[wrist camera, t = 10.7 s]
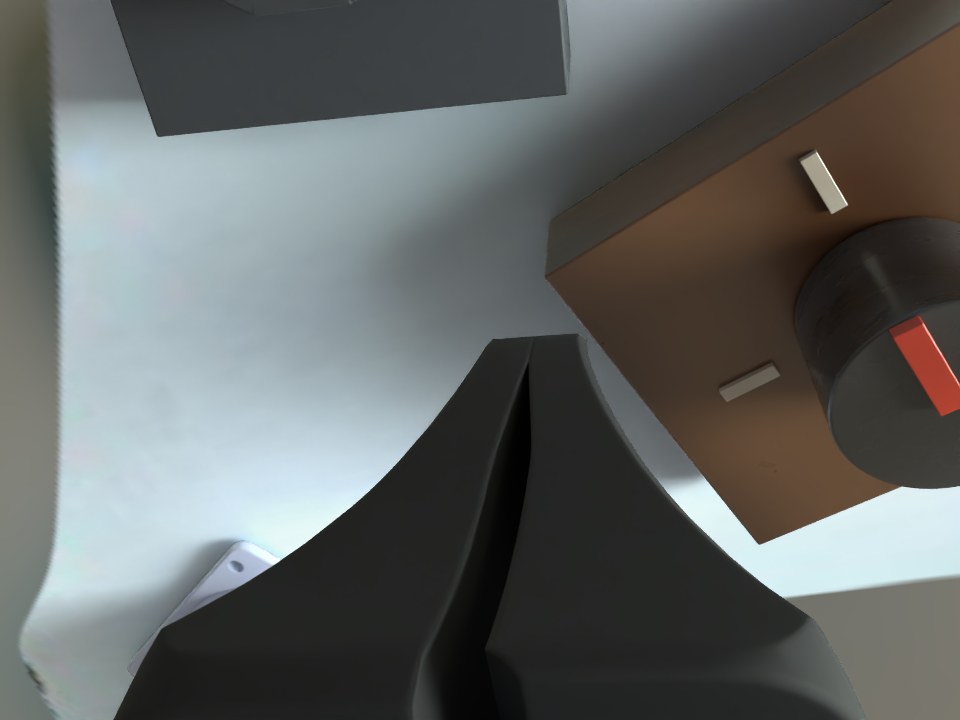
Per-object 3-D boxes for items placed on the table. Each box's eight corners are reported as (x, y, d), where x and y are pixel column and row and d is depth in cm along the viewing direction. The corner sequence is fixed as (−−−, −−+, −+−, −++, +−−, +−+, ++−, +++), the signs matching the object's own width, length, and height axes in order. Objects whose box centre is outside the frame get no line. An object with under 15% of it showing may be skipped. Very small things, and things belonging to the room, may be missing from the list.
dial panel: (743, 472, 26) (759, 550, 24) (548, 220, 22) (543, 281, 20) (1192, 269, 21) (1276, 340, 19) (1043, -98, 18) (1122, -73, 15)
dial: (1039, 329, 19) (1125, 439, 16) (847, 417, 21) (891, 531, 18) (958, 175, 18) (1038, 265, 15) (757, 285, 20) (789, 385, 16)
